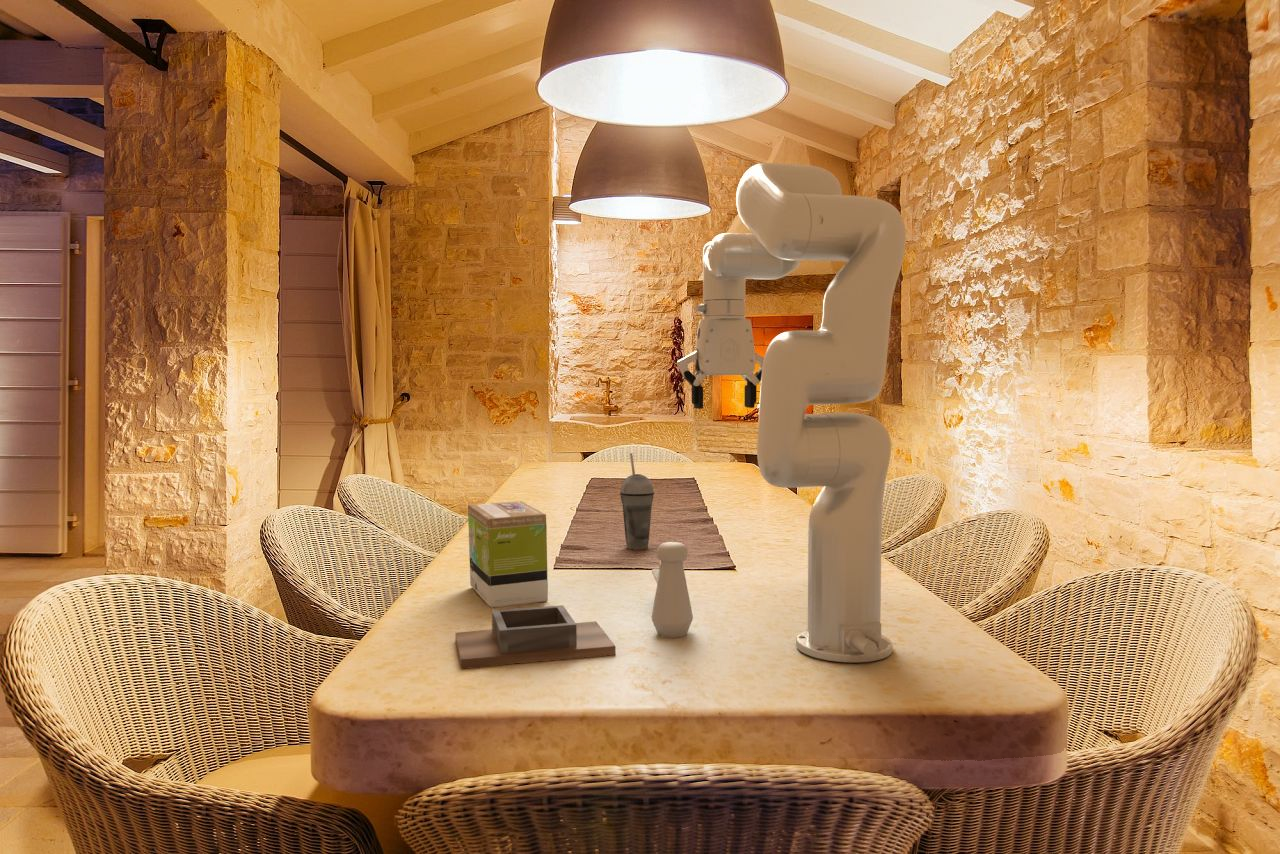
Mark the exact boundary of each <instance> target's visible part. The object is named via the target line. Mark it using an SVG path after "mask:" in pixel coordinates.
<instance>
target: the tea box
mask: <svg viewBox="0 0 1280 854" xmlns="http://www.w3.org/2000/svg"><path fill="white" fill-rule="evenodd" d="M467 523H468V548H469V549H468V552H469V554H468V555H469V557H468V558H469V581H470V582H469V583H470V586H471V588H472V589H473V590H474V591H475V592H476V594H478V596H479V597H480V598H481V599H482V600H484V602H485V603H486V604H487V606H489V608H491V609H492V608H493V607H495V608H501V607H511V606H519V605H526V604H528V605H529V604H535V603H541V602H542V603H543V602H547V601H548V600H549V583H548V579H549V578H548V543H547V542H548V541H547V533H548V531H547V530H548V529H547V513H544V512H542V511H540V510H538V509H536V508H535V507H533V506H531V505H529V504H527V503H525V502H524V501H522V500H517V501H502V502H490V503H481V504H469V505H468V506H467ZM493 609H494V608H493Z"/></svg>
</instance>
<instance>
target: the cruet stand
mask: <svg viewBox="0 0 1280 854" xmlns="http://www.w3.org/2000/svg"><path fill="white" fill-rule="evenodd" d="M491 622H492V625H491V626H492V628H491V629H486V630H473V631H460V632H459V631H457V632H455V634H454V635H455V645H456V650H457V655H458V659H459V663H460V668H465V669H469V668H468V667H476V668H482V667H481V666H487V667H496V666H495V665H498V666H505V665H504V664H509V665H515V664H514V663H520V664H527V663H526V662H532V663H538V662H537V661H543V662H549V661H548V660H554V661H560V660H559V659H565V660H573V659H572V658H576V659H585V658H584V657H587V658H596V656H598V657H607V655H609V656H615V655H616V654H617V653H616V652H617V651H616V645H615V643H614V642H613V641H612V639H610V637H609V636H608V635H607V633H606V632H605V630H603V628H602V627H601V626H600V624H599V623H598V622H597V621H586V622H585V621H583V622H575V620H574V619H573V618H572V616H571V615H570V613H569V611H568V610H567V609H566V607H565V606H564V605H563V604H562V605H550V606H549V605H548V606H534V607H523V608H520V607H519V608H510V609H509V608H508V609H506V608H505V609H497V610H496V609H495V610H491Z"/></svg>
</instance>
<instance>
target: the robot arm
mask: <svg viewBox="0 0 1280 854" xmlns="http://www.w3.org/2000/svg"><path fill="white" fill-rule="evenodd" d="M839 181H840V180H838V178H837V177H836V176H835V174H833V172H831V171H829V170H827V169H826V168H823V167H820V166H815V165H809V164H792V163H777V162H776V163H774V162H761V163H756V164H755V165H752V166H751V167H750V168H749V169H747V170H746V171H745V173H743V176H742V177H741V178H740V181H739V184H738V186H737V190H736V194H735V195H736V197H735V202H736V208H737V209H736V210H737V213H738V216H739V218H740V219H741V222H742V223H743V225H745V227H746V228H747V229H748V231H749V232H750V233H735V232H725V233H720V234H718V235H716V236H715V237H714V238H713V239H712V241H708V242H707V243H706V244H705V245H704V246H703V250H702V285H703V286H702V301H701V303H700V304H696V305H695V306H694V307H695V309H694V310H695V313H700V314H701V316H702V319H699V322H698V327H697V333H696V340H695V350H694V352H691V353H690V354H688V355H686V356H685V357H682V358H680V359H678V360H677V361H676V365H677V367H678V369H679V371H680V374H681V376H682V377H683V378H684V379H685V381H687V383H688V384H689V386H691V404H692V405H693V409H697V410H701V409H704V386H703V385H702V383H703V381H704V380H705V378H707V376H741V377H742V378H743V379H744V381H745V382H746V384H745V385H744V407H745V408H747V409H749V408H750V409H751V408H752V409H755V405H756V403H757V395H758V394H757V391H758V390H757V389H758V388H757V386H758V385H759V384H760V391H759V393H760V394H759V408H758V423H757V424H758V425H757V437H756V438H757V442H756V451H757V452H756V455H757V457H756V458H757V465H758V468H759V472H760V474H761V476H762V478H763V479H764V480H765V482H766V483H768V484H769V485H771V486H774V487H777V488H786V489H787V488H788V489H789V488H813V487H814V488H816V487H822V489H821V491H820V493H819V494H818V496H817V497H816V499H815V501H814V502H813V505H812V507H811V510H810V513H809V517H808V531H807V533H808V537H807V539H808V540H807V541H808V542H807V630H803V631H802V632H800V633H798V634H797V635H796V637H795V647H796V648H797V650H799V651H800V652H801V653H803V654H804V655H806V656H809V657H812V658H815V659H818V660H824V661H829V662H835V663H836V662H837V663H852V664H853V663H857V664H859V663H868V662H869V663H870V662H876V661H880V660H883V659H886V658H887V657H889V656H891V654H892V653H893V642H892V641H891V640H890V639H889V638H888V637H887V636H885V635H883V634H882V623H881V616H882V615H881V609H882V608H881V606H882V605H881V604H882V599H881V598H882V597H881V596H882V589H881V588H882V536H883V535H882V534H883V529H882V528H883V503H884V495H885V494H884V493H885V485H886V480H887V477H888V476H887V475H888V470H889V466H890V462H891V461H890V460H891V456H892V455H891V453H892V452H891V451H892V442H891V438H890V435H889V431H888V430H887V428H886V426H885V425H884V423H883V422H881V421H880V420H878V418H876V417H873V416H871V415H868V414H864V413H859V412H824V413H823V412H822V413H806V410H807V408H808V406H810V405H811V406H813V405H817V406H818V405H850V404H851V405H853V404H861V403H862V404H863V403H867V402H870V401H873V400H874V399H876V398H877V397H878V396H879V395H880V393H881V391H882V390H883V386H884V383H885V376H886V370H887V360H888V349H889V339H890V327H891V316H892V315H891V314H892V304H893V297H894V293H895V289H896V285H897V282H898V279H899V276H900V272H901V269H902V266H903V263H904V258H905V254H906V248H907V247H906V245H907V232H906V231H907V230H906V225H905V222H904V219H903V216H902V214H901V213H900V211H899V209H898V208H896V207H895V206H894V205H893V204H892V203H890V202H888V201H886V200H883V199H879V198H874V197H870V196H863V195H862V196H860V195H850V194H849V195H847V194H846V195H845V194H843V191H842V186H841V184H840V182H839ZM803 261H812V262H816V261H817V262H846V263H845V264H844V265H843V266H842V267H841V268H840V270H839V271H838V272H837V273H836V274H835V275H834V277H833V279H832V280H831V282H830V283H829V284H828V286H827V289H826V291H825V293H824V296H823V297H824V298H823V304H822V305H823V308H822V320H821V323H820V324H821V325H820V328H819V329H817V330H815V329H814V330H811V329H809V330H803V329H801V330H799V329H798V330H788V331H784V332H782V333H780V334H778V335H776V336H775V337H774V338H773V339H772V340H771V341H770V343H769V345H768V346H767V349H766V351H765V354H764V356H762V355H760V354H758V353H757V352H755V351H756V350H755V343H754V340H755V339H754V334H753V328H752V327H753V326H752V321H751V319H750V318H746V280H752V279H753V280H778V279H781V278H784V277H786V276H788V275H789V274H791V273H792V272H793V271H795V270H797V269H798V268H799V267H800V266H801V264H802V262H803ZM693 362H694V369H695V373H694V374H693V373H692V372H691V371H690V370H689V367H688V366H689V365H690V364H691V363H693ZM756 363H757V364H759V367H758V369H757V371H756V372H755V370H756ZM754 372H755V373H754Z"/></svg>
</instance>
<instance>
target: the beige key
mask: <svg viewBox="0 0 1280 854" xmlns="http://www.w3.org/2000/svg"><path fill="white" fill-rule="evenodd" d="M660 566H661V561H659V565H658V568H652V569H651V574H652V576H653V579H654V580H655V583H656V584H657V583H658V577H659V572H660Z"/></svg>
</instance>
